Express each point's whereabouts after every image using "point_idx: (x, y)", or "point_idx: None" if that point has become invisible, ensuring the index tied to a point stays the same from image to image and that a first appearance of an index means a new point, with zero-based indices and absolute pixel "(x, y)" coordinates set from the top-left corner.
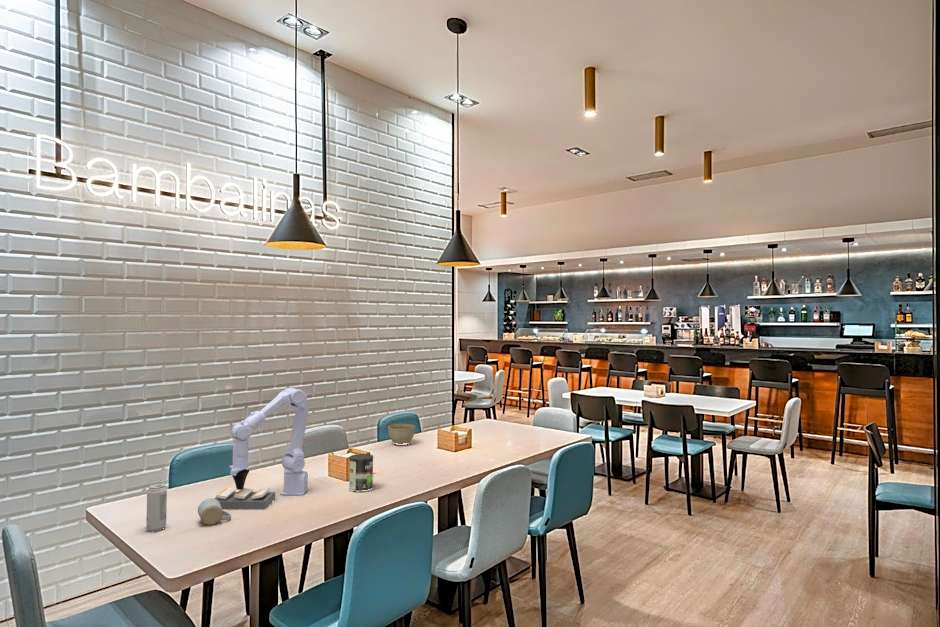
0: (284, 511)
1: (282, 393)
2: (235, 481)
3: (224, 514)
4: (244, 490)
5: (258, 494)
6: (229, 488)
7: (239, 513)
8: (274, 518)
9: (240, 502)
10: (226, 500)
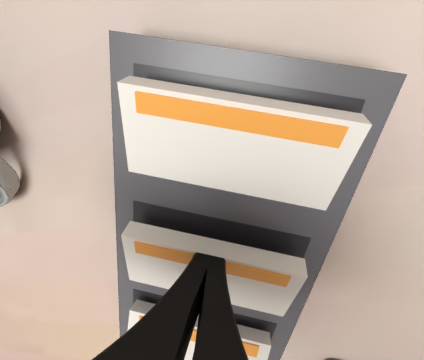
0: None
1: None
2: (151, 314)
3: (5, 174)
4: (241, 280)
5: None
6: (345, 161)
7: (82, 222)
8: (48, 327)
9: (119, 242)
10: None
